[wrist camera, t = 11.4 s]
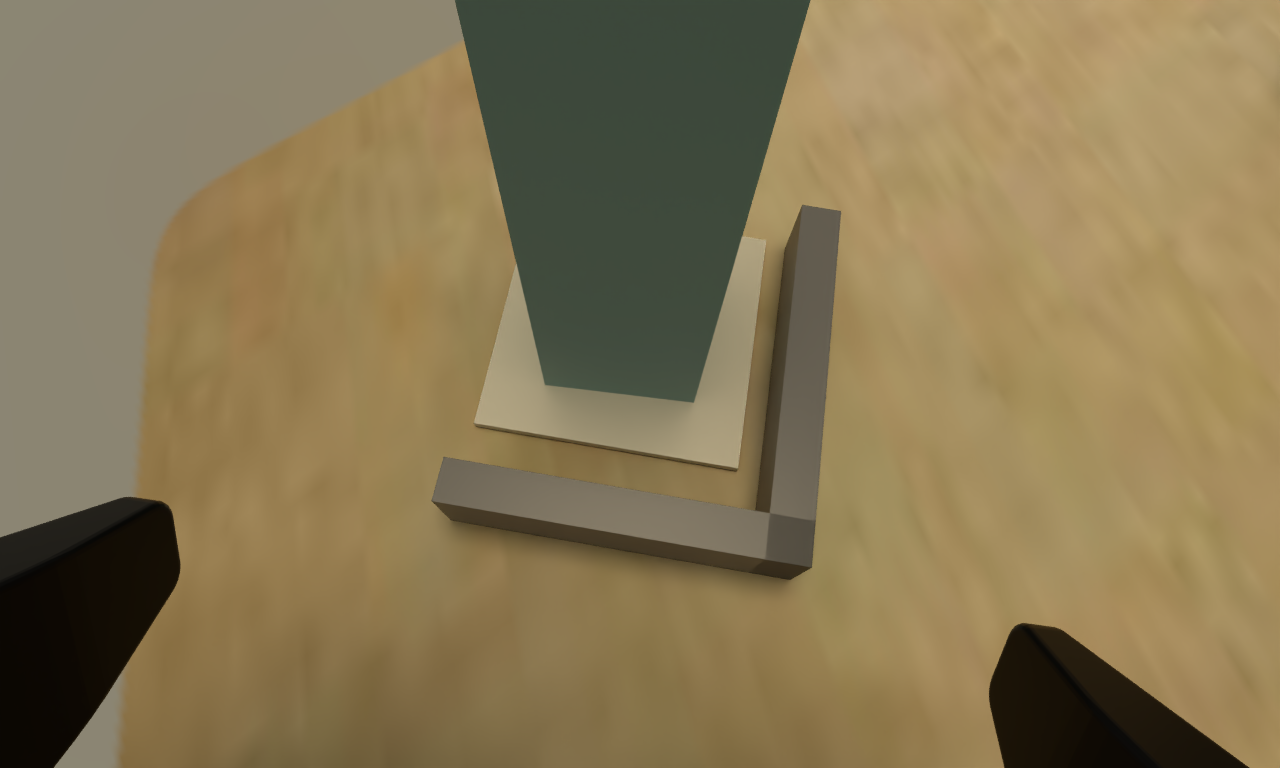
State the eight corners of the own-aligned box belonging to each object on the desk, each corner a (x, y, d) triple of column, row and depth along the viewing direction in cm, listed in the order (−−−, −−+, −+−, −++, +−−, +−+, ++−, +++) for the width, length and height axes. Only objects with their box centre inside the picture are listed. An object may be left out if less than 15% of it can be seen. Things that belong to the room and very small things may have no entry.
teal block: (693, 402, 23) (817, -24, 9) (544, 384, 23) (439, -66, 9) (706, 266, 25) (826, -265, 11) (568, 250, 25) (509, -299, 11)
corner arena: (790, 579, 21) (811, 567, 19) (451, 520, 22) (431, 501, 19) (820, 253, 25) (841, 211, 23) (533, 207, 26) (524, 160, 23)
